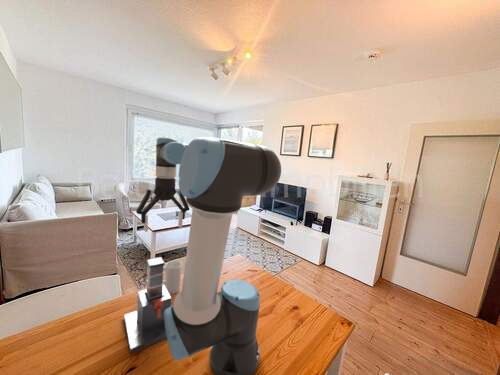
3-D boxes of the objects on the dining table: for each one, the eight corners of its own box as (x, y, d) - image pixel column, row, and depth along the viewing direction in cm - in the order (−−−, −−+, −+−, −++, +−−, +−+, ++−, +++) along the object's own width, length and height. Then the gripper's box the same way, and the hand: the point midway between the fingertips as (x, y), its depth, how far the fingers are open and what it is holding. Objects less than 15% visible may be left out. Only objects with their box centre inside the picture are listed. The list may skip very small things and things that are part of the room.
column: (161, 322, 73) (164, 262, 70) (147, 327, 70) (149, 266, 67) (158, 313, 76) (161, 257, 73) (144, 318, 73) (146, 259, 70)
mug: (181, 285, 97) (183, 260, 95) (179, 294, 90) (180, 268, 89) (158, 285, 95) (159, 260, 93) (154, 294, 88) (155, 268, 87)
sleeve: (183, 331, 72) (185, 297, 70) (130, 353, 62) (131, 315, 60) (169, 303, 84) (171, 274, 83) (124, 318, 75) (124, 286, 73)
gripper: (191, 177, 94) (189, 222, 96) (128, 175, 79) (127, 229, 81) (198, 179, 88) (196, 227, 91) (131, 177, 73) (130, 235, 75)
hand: (163, 228), depth 86 cm, fingers open, 13 cm apart
